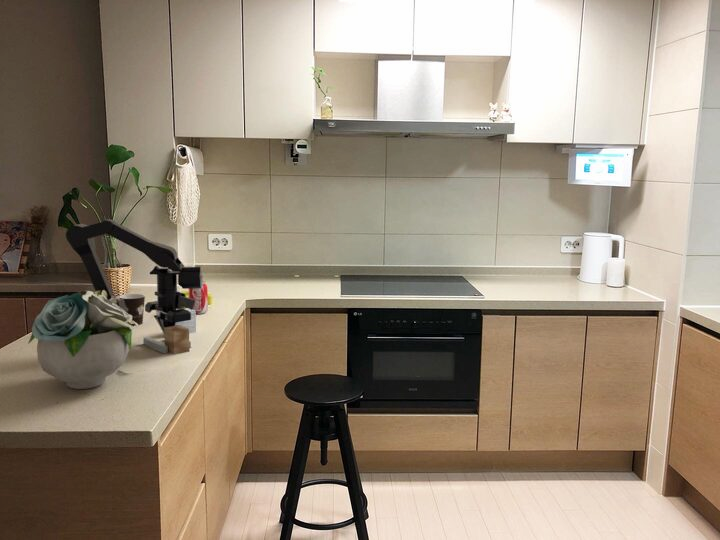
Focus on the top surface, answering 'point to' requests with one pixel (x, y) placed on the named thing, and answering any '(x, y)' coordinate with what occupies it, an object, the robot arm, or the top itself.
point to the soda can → (200, 298)
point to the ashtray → (208, 296)
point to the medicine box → (189, 321)
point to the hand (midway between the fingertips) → (168, 338)
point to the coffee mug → (134, 306)
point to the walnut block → (177, 339)
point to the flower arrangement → (82, 338)
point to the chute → (157, 345)
